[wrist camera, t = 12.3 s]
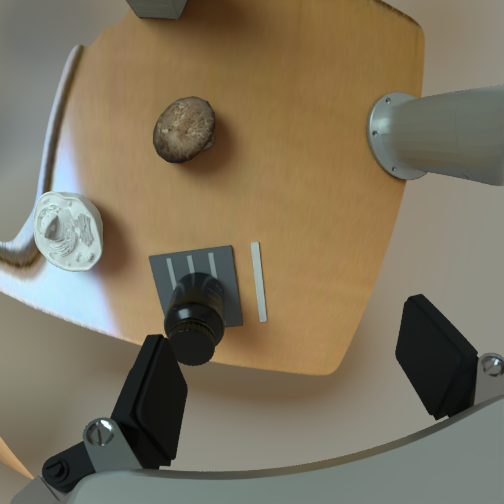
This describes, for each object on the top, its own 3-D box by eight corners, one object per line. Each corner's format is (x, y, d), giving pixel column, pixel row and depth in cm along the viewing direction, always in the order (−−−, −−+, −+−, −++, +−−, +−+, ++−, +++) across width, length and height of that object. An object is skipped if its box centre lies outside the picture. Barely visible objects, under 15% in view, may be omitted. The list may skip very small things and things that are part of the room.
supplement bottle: (194, 322, 38) (183, 381, 27) (165, 285, 36) (142, 337, 25) (234, 301, 38) (237, 358, 26) (207, 260, 36) (197, 309, 24)
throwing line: (258, 241, 36) (258, 242, 36) (266, 320, 40) (266, 321, 40) (250, 242, 36) (250, 243, 36) (259, 321, 40) (259, 322, 40)
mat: (231, 245, 36) (231, 246, 35) (242, 323, 40) (242, 325, 39) (149, 256, 35) (148, 257, 35) (170, 330, 39) (169, 332, 39)
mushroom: (239, 151, 29) (203, 131, 23) (185, 182, 32) (146, 171, 27) (222, 99, 30) (190, 76, 25) (175, 131, 34) (140, 116, 28)
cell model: (98, 275, 36) (78, 296, 29) (42, 228, 33) (16, 241, 26) (130, 219, 34) (109, 233, 27) (67, 170, 31) (39, 175, 24)
